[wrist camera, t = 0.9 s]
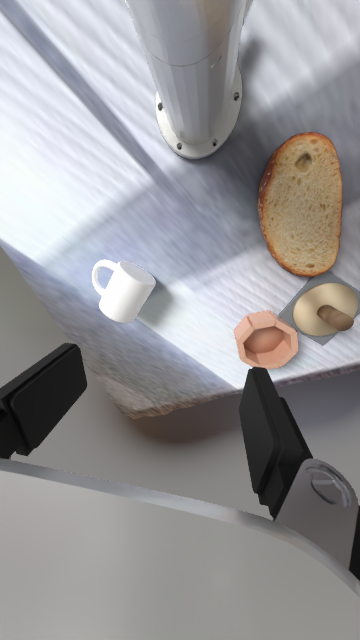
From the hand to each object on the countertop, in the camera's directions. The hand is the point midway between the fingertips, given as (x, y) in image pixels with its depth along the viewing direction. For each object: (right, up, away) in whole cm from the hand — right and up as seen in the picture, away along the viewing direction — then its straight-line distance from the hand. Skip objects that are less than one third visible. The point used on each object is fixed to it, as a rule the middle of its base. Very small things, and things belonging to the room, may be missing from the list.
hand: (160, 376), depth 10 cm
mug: (-11, +12, +31) cm, 35 cm away
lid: (+30, +5, +27) cm, 40 cm away
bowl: (+19, 0, +31) cm, 37 cm away
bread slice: (+22, +21, +21) cm, 37 cm away
